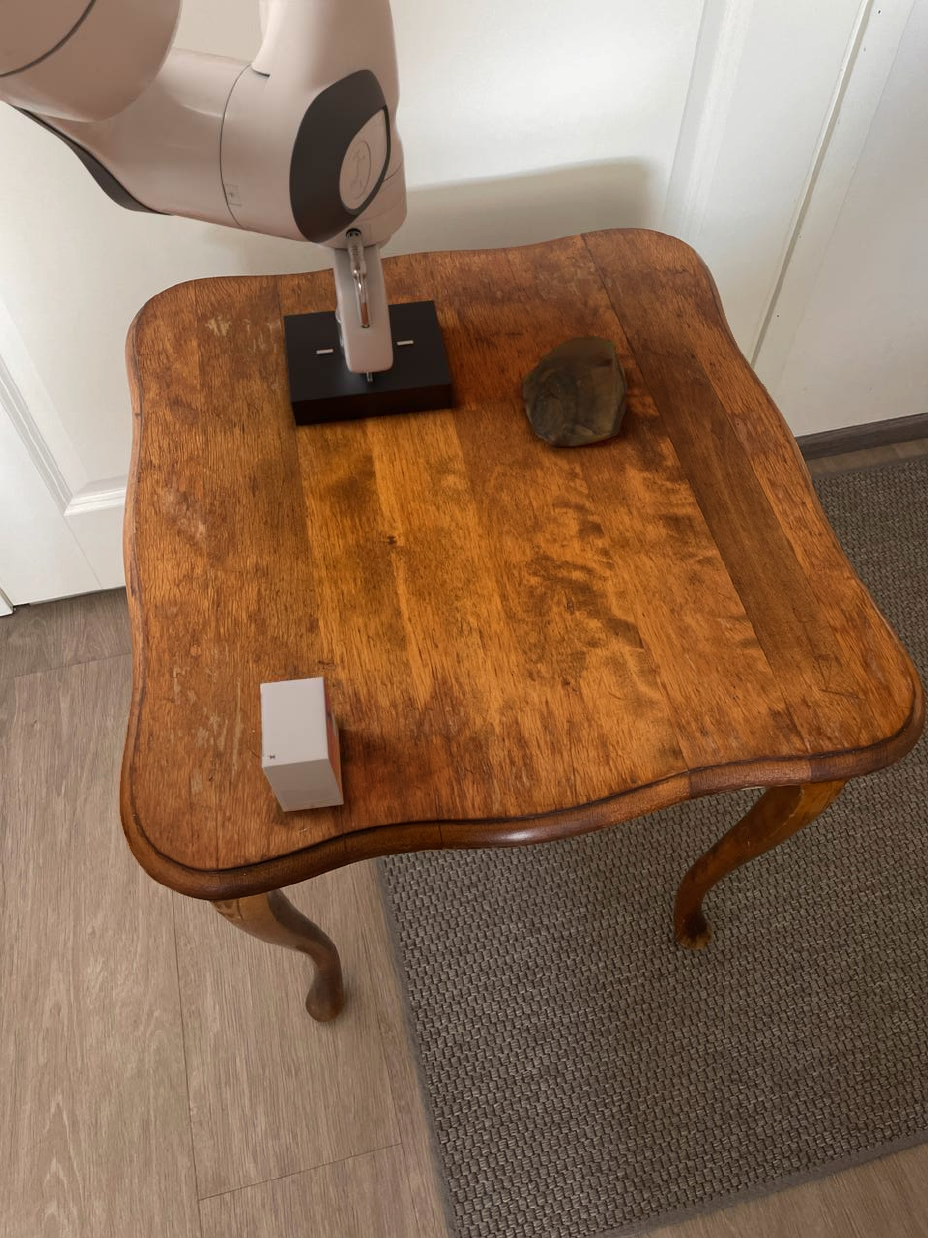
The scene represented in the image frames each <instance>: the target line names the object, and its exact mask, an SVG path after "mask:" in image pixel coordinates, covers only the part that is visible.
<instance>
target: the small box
mask: <svg viewBox="0 0 928 1238" xmlns="http://www.w3.org/2000/svg"><path fill="white" fill-rule="evenodd" d="M259 689H260V690H259V691H260V702H261V706H260V707H261V709H260V710H261V769H262V772H263V773H264V775H265V777H266V779H267V781H268V783H269V785H270V787H271V789H272V790H271V791H273V793H274V795H275V797H276V800H277V801H278V803H279V805H280V807H281V810H282V811H283V812H284V813H285V812H294V811H301V810H310V809H317V808H325V807H331V806H333V807H334V806H341V805H344V801H345V800H344V793H343V783H342V769H341V751H340V737H339V736H340V735H339V726H338V723H337V721H336V717H335V713H334V708H333V705H332V702H331V698H330V695H329V690H328V686H327V682H326V680H325V677H324V676H317V677H310V678H309V677H308V678H299V679H291V680H289V679H288V680H281V681H272V682H261V684H259Z"/></svg>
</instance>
